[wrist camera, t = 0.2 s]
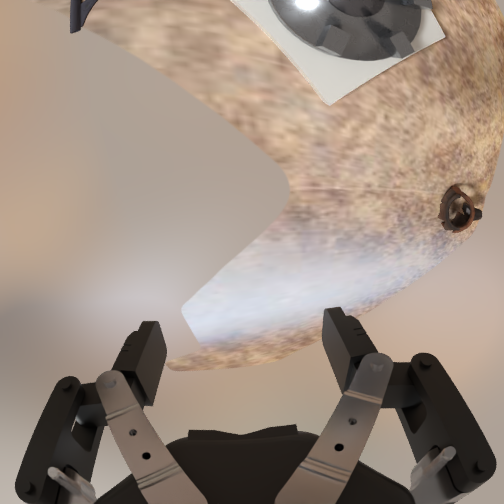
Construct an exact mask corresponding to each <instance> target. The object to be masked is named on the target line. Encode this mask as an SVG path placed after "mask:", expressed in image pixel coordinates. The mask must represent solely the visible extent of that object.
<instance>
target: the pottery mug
mask: <svg viewBox="0 0 504 504" xmlns="http://www.w3.org/2000/svg"><path fill="white" fill-rule="evenodd" d="M461 196H462V197H463V198H464V199H465V200H466V201H467V202H468V203H469V204H467V203H464V204H463V208H462V209H463V212H464V215H463V214H462V213H460V212H457V215H456V217H455V218H454V219H453V220H452V221H450V220H449V208H450V205H451V204H452V202H453V201H454V200H455V199H457V198H460V197H461ZM441 202H442V203H441V204H440V213H439V215H438V218H440V219H441V220H444V221H445V223H443V222H442V223H441V224H442V226H443V227H444V229H445V230H453V233H458V232H461V231H463V230H465V229H466V228H468V227H469V226H470V225H471V223H472V222H473V221H475V220H479V219H481V218H482V211H481V210H480V209H476V208H474V205H473V202H472V201H471V199H470V198H469V197H468V196H467V195H466V194H465V193H464V192H462V191H461V190H460V189H459V188H458V187H455V186H452V187H451V188H450V189H449V190H448V191H447V193H446V194H445V195H444V197H443V198H442V200H441Z"/></svg>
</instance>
